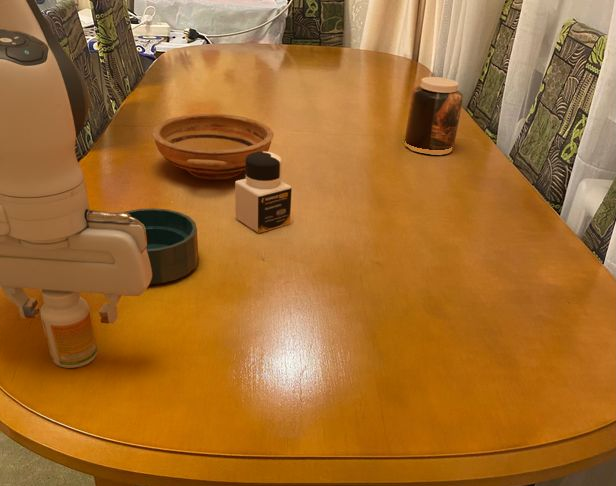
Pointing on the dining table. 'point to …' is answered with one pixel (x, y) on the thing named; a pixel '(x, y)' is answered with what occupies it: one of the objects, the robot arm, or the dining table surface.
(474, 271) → the dining table surface
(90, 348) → the supplement bottle
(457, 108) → the jar
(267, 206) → the medicine bottle
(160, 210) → the teal bowl
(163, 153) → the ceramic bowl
